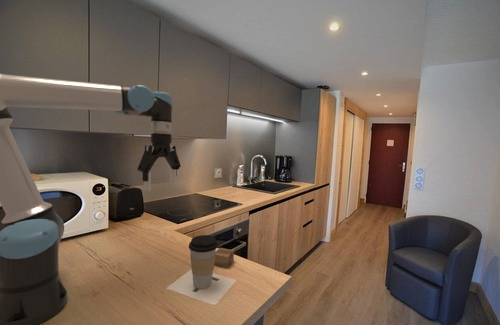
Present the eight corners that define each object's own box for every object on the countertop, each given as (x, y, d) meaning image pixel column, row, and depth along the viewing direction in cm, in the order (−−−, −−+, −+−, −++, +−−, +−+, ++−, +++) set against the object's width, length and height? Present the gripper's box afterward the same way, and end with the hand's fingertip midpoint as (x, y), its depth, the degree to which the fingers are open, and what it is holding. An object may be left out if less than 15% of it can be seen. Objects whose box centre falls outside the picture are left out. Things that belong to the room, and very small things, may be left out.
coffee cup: (187, 294, 71) (188, 247, 70) (187, 277, 80) (188, 235, 79) (218, 290, 73) (220, 244, 72) (215, 274, 82) (216, 233, 81)
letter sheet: (214, 306, 66) (214, 305, 66) (166, 289, 73) (166, 288, 73) (236, 280, 79) (236, 280, 79) (193, 268, 86) (193, 267, 86)
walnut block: (227, 270, 86) (227, 257, 86) (212, 266, 88) (213, 254, 88) (233, 262, 92) (233, 250, 92) (220, 259, 94) (220, 247, 94)
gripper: (142, 131, 77) (142, 193, 79) (189, 135, 100) (188, 183, 102) (126, 130, 80) (126, 191, 82) (175, 135, 103) (175, 182, 105)
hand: (160, 187), depth 92 cm, fingers open, 13 cm apart
